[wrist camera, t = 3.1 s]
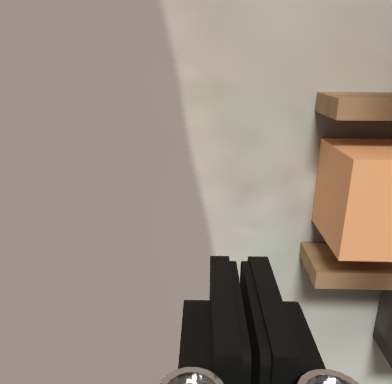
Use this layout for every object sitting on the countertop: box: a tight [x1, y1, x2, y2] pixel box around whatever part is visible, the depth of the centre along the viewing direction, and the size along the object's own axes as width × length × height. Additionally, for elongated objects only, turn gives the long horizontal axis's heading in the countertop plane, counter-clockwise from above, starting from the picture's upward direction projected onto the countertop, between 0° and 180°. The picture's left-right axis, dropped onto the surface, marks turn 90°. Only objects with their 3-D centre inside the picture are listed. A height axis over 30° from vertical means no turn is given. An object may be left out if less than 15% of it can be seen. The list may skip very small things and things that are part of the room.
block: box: [312, 138, 392, 262], centre depth 19 cm, size 5×5×5 cm
